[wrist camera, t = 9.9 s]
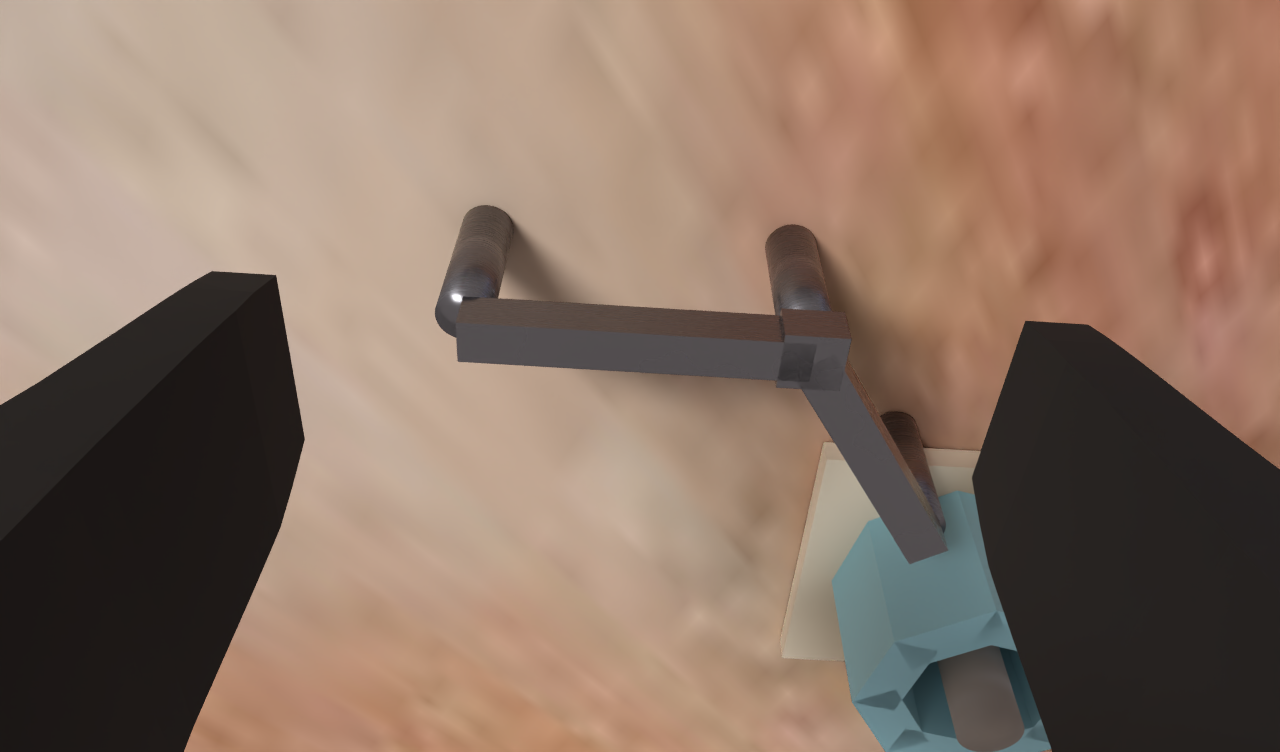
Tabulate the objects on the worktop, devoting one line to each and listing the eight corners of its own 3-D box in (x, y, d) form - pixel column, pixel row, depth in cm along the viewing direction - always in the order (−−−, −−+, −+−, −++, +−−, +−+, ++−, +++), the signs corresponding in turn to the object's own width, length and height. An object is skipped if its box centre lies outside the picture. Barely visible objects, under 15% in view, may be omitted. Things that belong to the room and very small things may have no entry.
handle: (972, 233, 20) (1028, 349, 17) (910, 447, 24) (948, 576, 21) (461, 201, 20) (424, 313, 17) (471, 421, 24) (442, 548, 20)
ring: (1024, 467, 23) (1073, 587, 21) (1081, 605, 26) (1132, 727, 23) (807, 542, 25) (825, 663, 22) (883, 664, 28) (908, 786, 25)
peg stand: (1127, 459, 24) (1219, 634, 20) (1038, 653, 28) (1100, 829, 24) (824, 441, 24) (855, 614, 20) (779, 639, 28) (799, 814, 24)
